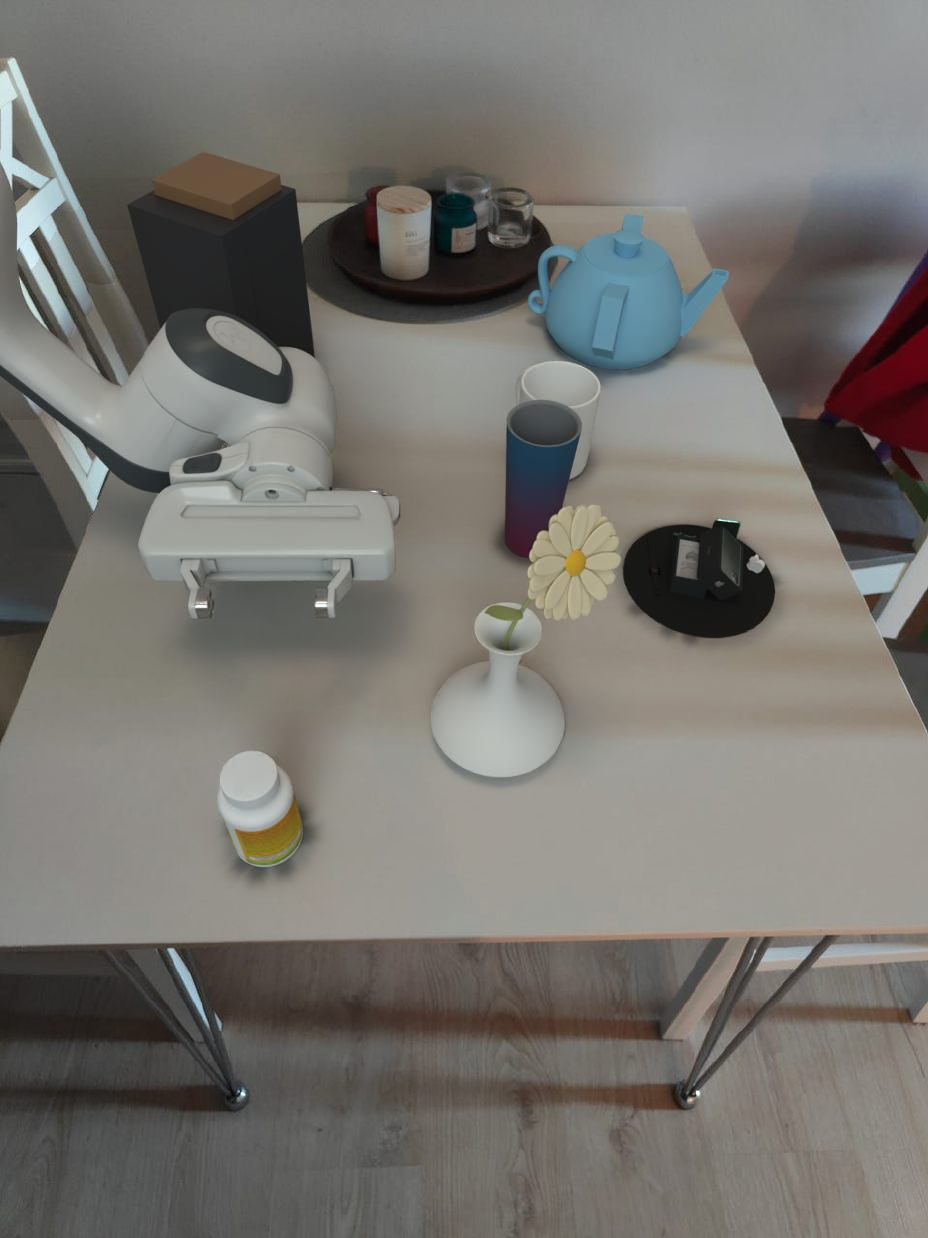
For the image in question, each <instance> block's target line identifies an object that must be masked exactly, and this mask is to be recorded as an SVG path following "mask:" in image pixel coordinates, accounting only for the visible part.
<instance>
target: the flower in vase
mask: <svg viewBox="0 0 928 1238" xmlns="http://www.w3.org/2000/svg"><path fill="white" fill-rule="evenodd" d="M602 513H603V511H602V508H601V506H599V505H596V504H590V505H589V506H587V505H585V504H583V503H581V504H579V505H577V506H576V508H575V509H574V508H573V507H572V506H571V505H567V506H564V507H562V509H561V510H560V511H559V512H558V515H554V516H552V517H551V519H550V521H549V532H548V531H541V532H539V533H538V535H537V539H536V541H535V542H534V544H533V548H532V549H531V551H530V554H529V558H528V559H529V560H530V562H532V563H531V564H530V565H529V566H528V568H527V571H526V574H527V577H528V578H529V583H528V585H529V587H528V589H527V596H528V597H527V598H526V599H525V601H524V603H523V604H519V603H517V602H508V601H507V602H506V601H504V602H497V603H493V604H490V605H488V606H487V607H484V608H483V609H482V610H481V611H480V612H479V613H478V614H477V616H476V617H475V620H474V626H473V629H474V633H475V636H476V638H477V640H478V642H479V643H480V644H481V645H482V646H483V648H485V649H486V650H487V652H488V658H489V660H485V661H479V662H475V663H472V664H470V665H466V666H465V667H463V668H461V669H459V670H457V671H456V672H454V673H453V674H452V675H451V676H449V677H448V678H447V679H446V680H445V681H444V682H443V684H442V685H441V686H440V688H439V689H438V691H437V693H436V694H435V696H434V698H433V701H432V703H431V707H430V717H429V718H430V719H429V721H430V728H431V733H432V735H433V737H434V739H435V742H436V743H437V745H438V746H439V748H440V749H441V751H442V752H443V753H444V755H446V756H447V758H448V759H450V760H451V761H452V762H453V763H455V764H456V765H458V766H459V767H461V768H463V769H465V770H467V771H469V772H471V773H474V774H477V775H480V776H484V777H490V778H511V777H515V776H517V777H518V776H521V775H524V774H527V773H529V772H532V771H534V770H536V769H537V768H539V767H540V766H542V765H544V764H545V763H546V762H548V761H549V760H550V759H551V757H552V756H553V755H554V754H555V753H556V751H558V748H559V747H560V744H561V742H562V740H563V737H564V734H565V724H566V723H565V721H566V719H565V713H564V709H563V706H562V703H561V701H560V699H559V697H558V695H557V693H556V691H555V689H554V688H553V686H551V684H550V683H549V682H548V681H547V680H546V679H545V678H544V677H543V676H542V675H540V674H539V673H537V672H535V671H534V670H532V669H530V668H528V667H526V666H525V665H522V664H520V662H521V659H522V657H523V655H524V654H526V653H528V652H530V651H532V650H533V649H535V648H536V647H537V645H538V644H539V642H540V641H541V639H542V635H543V626H542V621H541V620H540V619H539V617H538V615H537V614H536V613H535V612H534V611H533V610H532V609H530V608H529V605H530V604H531V602H532V601H533V600H534V604H535V606H536V608H537V609H538V610H542V609H543V615H544V617H545V619H546V620H551V619H552V618H553V619H554V620H555V621H556V622H560V621H561V620H566V619H568V617H569V618H570V619H571V620H572V621H576V620H578V619H579V618H580V617H581V615H582V616H583V617H587V616H589V615H590V614H591V612H592V607H593V606H594V604H595V601H596V600H597V601H599V602H603V601H605V600H606V599H607V598H608V595H609V592H608V587H607V586H610V585H612V584H614V583H615V581H616V577H617V576H616V573H615V569H616V568H618V567H619V566H620V565H621V563H622V556H621V555H620V554H619V553H617V548H618V547H619V545H620V538H619V536H617V535H616V534H617V530H616V528H615V527H614V525H613V523H612V522H611V521H609V518H608V517H607V516H606V515H602Z"/></svg>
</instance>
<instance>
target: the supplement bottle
mask: <svg viewBox="0 0 928 1238" xmlns="http://www.w3.org/2000/svg"><path fill="white" fill-rule="evenodd" d="M216 803H217V808H218V812H219V815H220V818H221V820H222V822H223V824H224V827H225V829H226V831H227V834H228V837H229V839H230V842H231V844H232V846H233V848H234V850H235V852H236V854H237V855H238V857H239V858H240V859H241V860H242V861H243V862H245V863H247V864H249V865H251V866H254V867H259V868H269V867H274V866H278V865H280V864H282V863H284V862H286V861H287V860H288V859H290V858H291V857H292V856H293V855H294V854H295V853H296V851H297V850H298V849H299V847H300V845H301V843H302V840H303V834H304V827H303V821H302V817H301V813H300V810H299V807H298V802H297V799H296V795H295V790H294V787H293V782H292V780H291V778H290V776H289V774H288V773H287V772H286V771H285V770H284V769H283V768H282V767H281V766H279V765H277V763H276V761H275V760H274V759H273V758H272V757H271V756H270V755H269V754H267V753H265V752H263V751H259V750H244V751H242V752H238V753H237V754H235V755H233V756H232V757H230V758H229V759H228V760H227V761H226V762H225V763H224V765H223V766H222V768H221V770H220V773H219V787H218V791H217V796H216Z"/></svg>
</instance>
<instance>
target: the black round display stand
mask: <svg viewBox="0 0 928 1238" xmlns="http://www.w3.org/2000/svg"><path fill="white" fill-rule="evenodd" d="M741 525H742V522H740V520H732V519H726V518H725V519H724V518H715V519H714V520H713V523H712V527H709V526H704V525H698V524H685V523H684V524H683V523H682V524H672V525H665V526H661V527H658V528H657V527H656V528H654V529H652V530H650V531H648V532H646V533H644V534H643V535H641V536H640V537H638V538H637V539H636V540H635V541H634V542H633V543H632V544H631V546H630V547H629V548H628V550H627V552H626V554H625V558H624V561H623V565H622V576H623V582H624V586H625V588H626V590H627V592H628V594H629V596H630V597H631V599H632V600H633V602H634V603H635V604H636V605H637V607H638V608H639V609H640V610H641V611H642V612H643V613H645V614H646V615H647V616H649V618H651V619H652V620H654V621H655V622H657V623H658V624H660V625H662V626H663V627H666V628H668V629H670V630H673V631H675V632H678V633H681V634H685V635H687V636H692V637H698V638H706V639H723V638H730V637H735V636H738V635H741V634H744V633H747V632H749V631H751V630H753V629H754V628H756V627H757V626H759V625H760V624H761V623H762V622H763V621H765V619H766V618H767V616H768V615H769V613H770V612H771V610H772V608H773V605H774V602H775V598H776V587H775V581H774V577H773V575H772V573H771V571H770V569H769V566H768V565H767V564H766V562H765V561H764V560H763V559H762V557H761V556H760V555H759V554H758V553H757V552H756V551H755V550H754V549H753V548H752V547H750V546H749V545H748V544H747V543H745V542H744V541H742V540H740V539H738V538H737V537H738V535H739V532H740V528H741Z"/></svg>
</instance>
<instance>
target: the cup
mask: <svg viewBox="0 0 928 1238" xmlns="http://www.w3.org/2000/svg"><path fill="white" fill-rule="evenodd" d="M581 430H582V422H581V419H580V417H579V416H578V414H577V413H576V412H575V411H574V410H572V409H571V408H569V407H568V406H566V405H564V404H561V403H558V402H555V401H550V400H531V401H527V402H524V403H521V404H519V405H517V404H516V405H515V406H514V407H513V408H512V409H511V410H510V411H509V412H508V414H507V416H506V439H505V440H506V441H505V497H504V499H505V500H504V501H505V506H504V543H505V546H506V547H507V549H508V550H509V551H510V552H512V553H513V554H515V555H516V556H519V557H522V558H527V559H530V558H529V554H530V551H531V549H532V548H533V544H534V542H535V541H536V539H537V535H538V533H539V532H541V531H548V532H549V521H550V519H551V517H552V516H554V515H558V512H559V511H560V510H561V509H562V508H563V505H564V501H565V497H566V493H567V490H568V485H569V482H570V480H569V478H570V474H571V470H572V466H573V462H574V458H575V454H576V450H577V446H578V442H579V438H580V434H581Z"/></svg>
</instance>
